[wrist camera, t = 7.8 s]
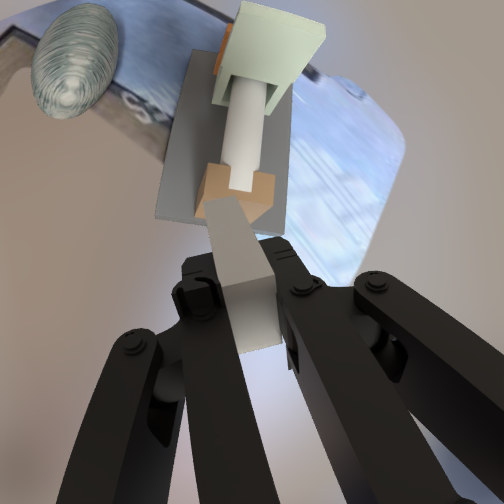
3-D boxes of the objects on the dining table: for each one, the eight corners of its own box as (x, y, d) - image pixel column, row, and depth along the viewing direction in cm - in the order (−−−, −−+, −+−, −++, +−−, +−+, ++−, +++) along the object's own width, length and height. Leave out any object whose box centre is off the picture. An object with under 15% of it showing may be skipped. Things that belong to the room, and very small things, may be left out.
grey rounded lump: (47, 23, 24) (65, -23, 17) (114, 36, 31) (147, -3, 23) (16, 125, 25) (18, 97, 18) (91, 133, 32) (117, 111, 25)
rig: (155, 218, 29) (152, 189, 20) (191, 57, 32) (202, 4, 24) (278, 237, 32) (318, 216, 23) (288, 78, 35) (318, 34, 27)
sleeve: (209, 103, 27) (239, 12, 16) (215, 72, 28) (245, -17, 17) (271, 116, 28) (326, 37, 17) (273, 85, 29) (323, 7, 18)
